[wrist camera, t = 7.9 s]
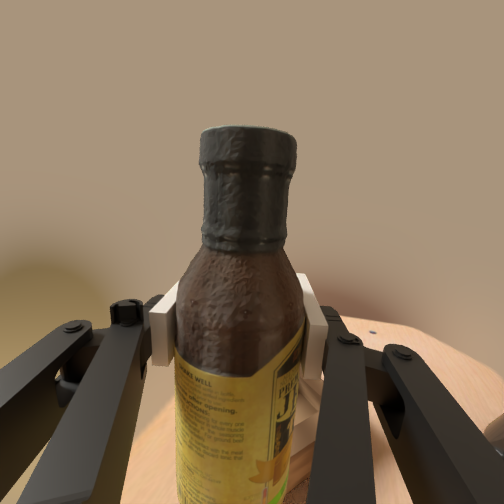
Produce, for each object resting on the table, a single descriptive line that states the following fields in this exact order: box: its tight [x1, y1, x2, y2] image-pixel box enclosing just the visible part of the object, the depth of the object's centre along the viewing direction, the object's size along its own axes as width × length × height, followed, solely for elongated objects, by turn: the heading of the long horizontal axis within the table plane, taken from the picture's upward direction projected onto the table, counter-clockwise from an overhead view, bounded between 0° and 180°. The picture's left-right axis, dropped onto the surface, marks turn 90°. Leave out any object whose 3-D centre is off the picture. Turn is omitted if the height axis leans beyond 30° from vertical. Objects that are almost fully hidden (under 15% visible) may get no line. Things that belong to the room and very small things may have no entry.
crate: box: [285, 362, 324, 495], centre depth 31 cm, size 13×13×5 cm
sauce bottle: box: [174, 125, 306, 504], centre depth 12 cm, size 6×6×20 cm
